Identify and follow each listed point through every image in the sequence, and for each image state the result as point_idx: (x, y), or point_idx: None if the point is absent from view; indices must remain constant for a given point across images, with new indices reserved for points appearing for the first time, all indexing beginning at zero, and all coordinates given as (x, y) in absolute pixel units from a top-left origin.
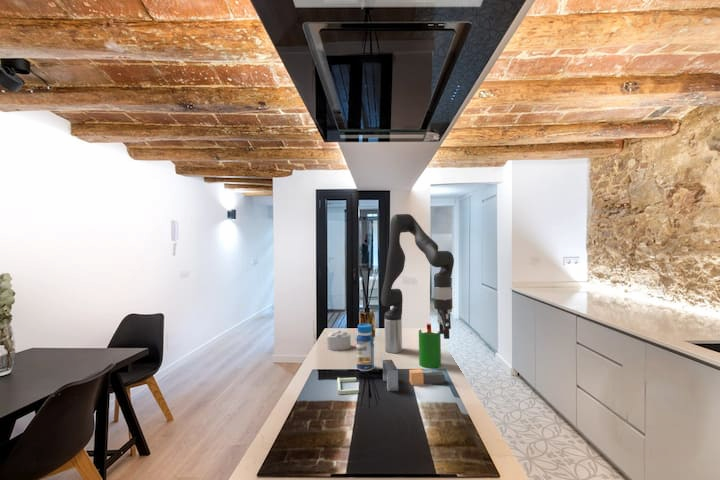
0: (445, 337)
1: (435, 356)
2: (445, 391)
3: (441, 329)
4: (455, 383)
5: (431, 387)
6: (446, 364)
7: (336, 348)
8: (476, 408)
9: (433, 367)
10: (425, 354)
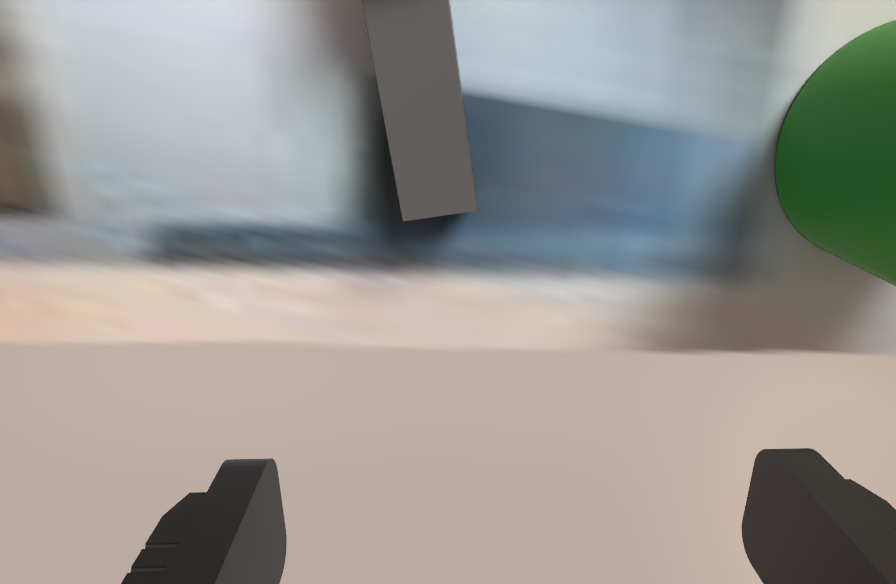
0: (183, 500)
1: (850, 216)
2: (239, 174)
3: (822, 568)
4: (407, 291)
5: (306, 58)
6: (851, 311)
7: None
8: (4, 331)
9: (779, 164)
10: None
